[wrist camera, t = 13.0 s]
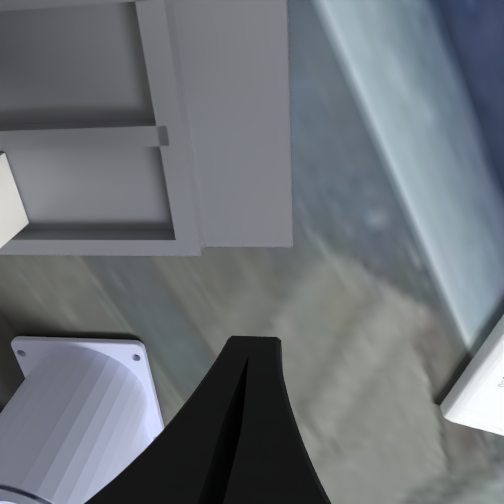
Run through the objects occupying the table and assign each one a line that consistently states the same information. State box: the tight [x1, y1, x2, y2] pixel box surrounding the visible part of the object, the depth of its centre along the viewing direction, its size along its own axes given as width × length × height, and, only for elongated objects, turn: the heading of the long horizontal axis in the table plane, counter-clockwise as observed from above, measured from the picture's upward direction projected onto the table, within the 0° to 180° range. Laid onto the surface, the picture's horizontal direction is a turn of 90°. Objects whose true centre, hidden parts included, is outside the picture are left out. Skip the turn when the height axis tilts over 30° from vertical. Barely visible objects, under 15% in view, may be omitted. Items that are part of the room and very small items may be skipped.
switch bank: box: [0, 0, 294, 256], centre depth 18 cm, size 16×21×2 cm
